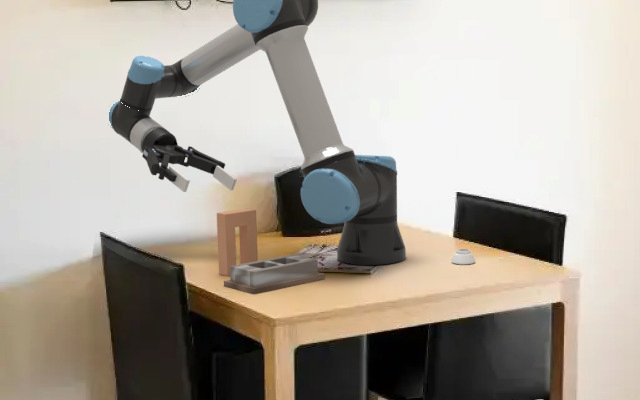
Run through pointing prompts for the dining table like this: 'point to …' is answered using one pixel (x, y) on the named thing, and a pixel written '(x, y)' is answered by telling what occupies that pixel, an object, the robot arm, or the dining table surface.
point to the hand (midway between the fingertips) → (210, 185)
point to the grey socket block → (273, 274)
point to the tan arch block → (227, 238)
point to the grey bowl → (463, 257)
